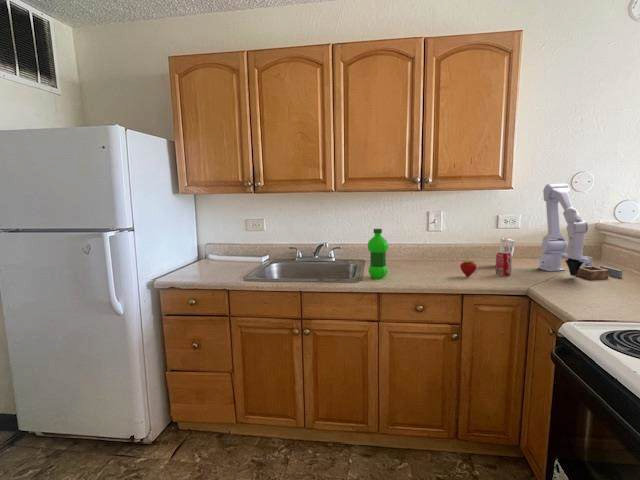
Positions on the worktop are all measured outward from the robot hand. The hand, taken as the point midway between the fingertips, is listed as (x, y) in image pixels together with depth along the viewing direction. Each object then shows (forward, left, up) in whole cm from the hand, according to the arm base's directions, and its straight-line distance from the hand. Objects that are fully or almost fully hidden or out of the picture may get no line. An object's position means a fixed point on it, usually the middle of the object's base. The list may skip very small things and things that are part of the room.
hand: (573, 275), depth 168 cm
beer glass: (-15, +29, -2) cm, 32 cm away
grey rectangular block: (+16, +11, -2) cm, 20 cm away
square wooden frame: (+9, 0, -1) cm, 10 cm away
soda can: (-28, +12, -2) cm, 30 cm away
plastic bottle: (-89, +23, -2) cm, 91 cm away
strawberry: (-46, +13, -2) cm, 47 cm away
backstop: (+20, 0, -1) cm, 20 cm away
